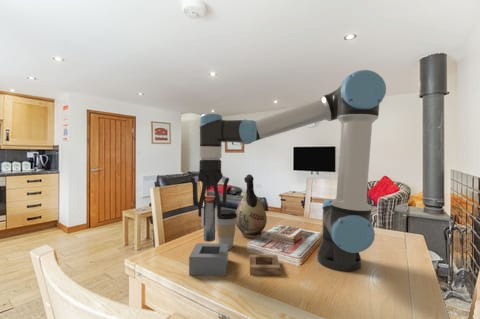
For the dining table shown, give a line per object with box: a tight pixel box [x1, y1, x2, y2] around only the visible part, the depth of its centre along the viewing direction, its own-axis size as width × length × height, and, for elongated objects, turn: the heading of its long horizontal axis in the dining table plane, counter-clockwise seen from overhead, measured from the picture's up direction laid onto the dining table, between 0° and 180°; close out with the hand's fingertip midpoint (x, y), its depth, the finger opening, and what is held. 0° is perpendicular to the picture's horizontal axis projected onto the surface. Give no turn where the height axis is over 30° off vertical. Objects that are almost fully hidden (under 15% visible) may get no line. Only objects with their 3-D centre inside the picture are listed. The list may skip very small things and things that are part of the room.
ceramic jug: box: [235, 173, 268, 238], centre depth 120 cm, size 17×15×30 cm
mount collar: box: [249, 254, 282, 276], centre depth 86 cm, size 10×10×2 cm
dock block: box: [188, 242, 229, 277], centre depth 86 cm, size 12×12×6 cm
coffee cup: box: [216, 209, 237, 250], centre depth 105 cm, size 9×9×15 cm
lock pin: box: [203, 195, 217, 243], centre depth 86 cm, size 5×5×15 cm
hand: (209, 225), depth 86 cm, fingers closed on lock pin, 4 cm apart
